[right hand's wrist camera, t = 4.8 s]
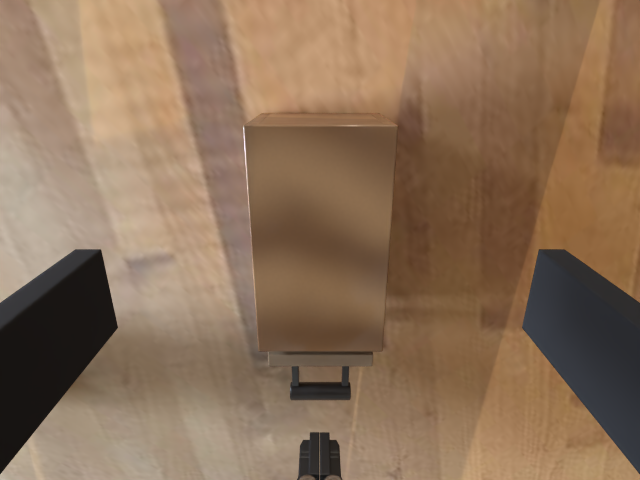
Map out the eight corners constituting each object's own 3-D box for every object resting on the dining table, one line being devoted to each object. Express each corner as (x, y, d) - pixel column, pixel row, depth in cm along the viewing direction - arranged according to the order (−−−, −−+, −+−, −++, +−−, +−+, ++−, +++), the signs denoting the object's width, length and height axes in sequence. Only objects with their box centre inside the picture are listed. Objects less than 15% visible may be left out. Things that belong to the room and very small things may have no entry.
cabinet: (370, 296, 41) (382, 351, 33) (270, 296, 41) (258, 351, 33) (379, 113, 35) (398, 125, 26) (261, 113, 35) (242, 125, 26)
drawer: (362, 364, 43) (369, 416, 37) (278, 364, 43) (271, 416, 37) (372, 154, 35) (383, 173, 29) (268, 154, 35) (257, 173, 29)
